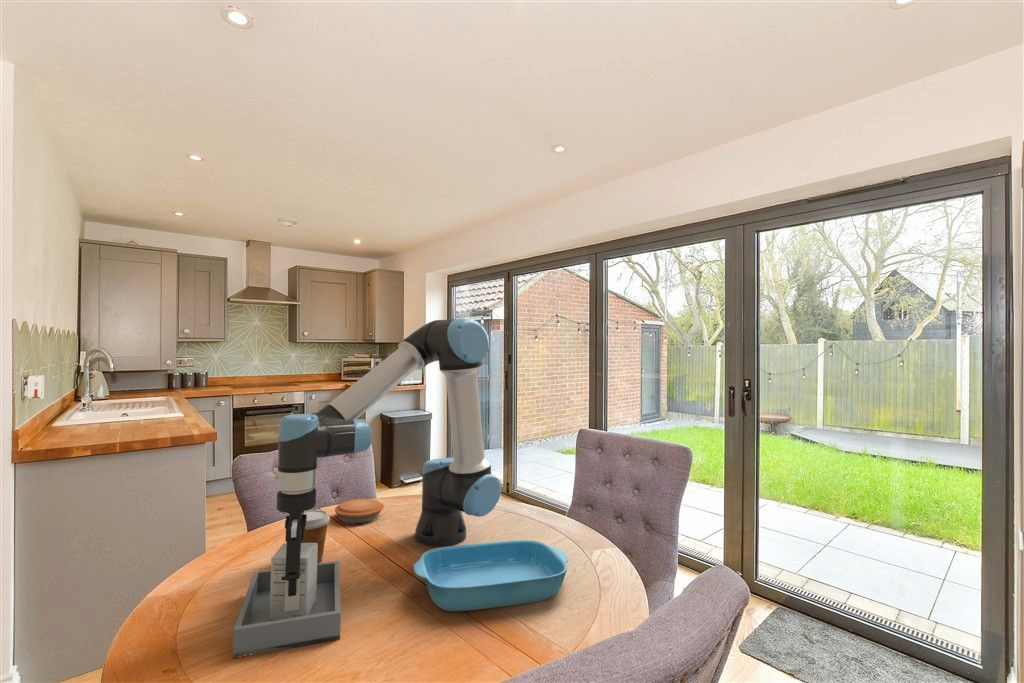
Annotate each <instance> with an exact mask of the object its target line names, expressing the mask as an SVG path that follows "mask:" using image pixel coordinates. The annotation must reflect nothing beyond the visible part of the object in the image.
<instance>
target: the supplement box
mask: <svg viewBox="0 0 1024 683" xmlns="http://www.w3.org/2000/svg"><path fill="white" fill-rule="evenodd" d="M286 548H287V542H285V543H283V544H282V545H281V546H280V547H279V548H278V550H277V551H276V552H275V553H274V554H273V556H271V558H270V562H271V563H270V569H271V580H270V614H269V619H270V620H282V619H288V618H294V617H300V616H307V615H308V614H309V613H310V611H311V609H312V607H313V605H314V603H315V601H316V589H317V555H318V543H301V555H300V608H299V610H294V611H288V612H284V608H285V580H282V577H285V571H286Z"/></svg>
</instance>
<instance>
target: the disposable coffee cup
mask: <svg viewBox="0 0 1024 683" xmlns="http://www.w3.org/2000/svg"><path fill="white" fill-rule="evenodd" d="M304 514H307V520H306V526H305V532H304V540H303V543H318V555H317V563H319V562H320V563H322V561H323V557H324V549H325V544H326V538H327V537H326V536H327V529H328V524H329V522H330V520H331V517H330V516H329V512H328V511H326V510H325V509H324V510H323V509H310V510H308V511H304Z"/></svg>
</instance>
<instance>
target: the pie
mask: <svg viewBox="0 0 1024 683" xmlns="http://www.w3.org/2000/svg"><path fill="white" fill-rule="evenodd" d="M384 508H385V504H383V503H381V502H379V501H378V500H377V499H373V498H371V499H370V498H357V499H355V498H354V499H350V500H347V501H346V500H345V501H343V502H342V503H340V504H338V505H337V506H336V507H335V508H334V512H335V514H337V516H338V517H339V519H340V521H341V520H342V521H341V522H343V523H344V522H347V523H346V524H348V523H362V524H365V523H364V522H367V523H370V522H369V521H371V522H373V521H375V520H376V519H377V518H378V517H379V514H380V513H381V512H382V511H383V510H384ZM372 520H373V521H372Z"/></svg>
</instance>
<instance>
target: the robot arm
mask: <svg viewBox="0 0 1024 683" xmlns="http://www.w3.org/2000/svg"><path fill="white" fill-rule="evenodd" d="M489 349H490V342H489V336H488V332H487V331H486V329H485V328H484V326H483V325H481V324H480V322H478V321H476V320H474V319H472V318H463V317H462V318H461V317H460V318H454V319H452V318H450V319H436V320H432V321H430V322H428V323H425V324H423V325H422V326H421V327H419V328H417V329H416V330H414V331H413V332H412V333H411V334H409V335H408V336H406V337H405V338H404V339H403V340H402V341H401V342H399V343H398V348H397V349H396V350H395V351H393V353H391V354H390V355H388V356H387V357H386V358H385V359H383V360H382V361H381V362H379V364H377V365H376V366H375V367H374V368H371V369H370V371H368V372H367V373H365V374H364V375H363V376H362V377H361V378H359V379H358V380H357V381H356V382H354V383H353V384H352V385H350V387H348V388H347V389H346V390H344V391H343V392H342V393H341V394H339V395H338V396H336V397H335V398H334V399H332V400H331V401H330V402H329V403H328V404H327V405H325V406H324V407H322V408H321V409H320V410H318V411H317V412H310V413H302V414H301V413H295V414H288V415H284V416H283V417H282V418H280V422H279V427H278V437H277V441H278V445H277V446H278V449H277V450H278V452H277V453H278V456H277V458H278V460H277V462H278V463H277V474H275V475H274V478H273V479H275V480H278V481H277V490H278V492H276V510H277V511H278V512H280V513H284V514H285V513H286V514H289V515H286V517H285V521H284V528H285V543H287V548H286V571H285V577H282V580H285V608H284V612H288V611H294V610H299V608H300V555H301V543H303V540H304V532H305V526H306V520H307V514H304V511H308V510H313V509H314V508H315V507H316V504H317V489H316V487H317V485H318V484H317V483H318V481H317V480H318V459H319V458H320V459H321V458H328V457H336V456H343V455H350V454H351V455H355V454H357V453H362V452H366V451H367V450H368V449H369V448H370V446H371V445H372V442H373V432H372V431H373V430H372V427H371V425H370V423H369V422H368V420H366V419H364V418H362V419H361V418H360V417H361V416H362V415H363V414H364V413H366V412H367V411H368V410H369V409H370V408H372V407H373V406H374V405H375V404H376V403H378V402H379V401H380V400H382V398H384V396H386V395H387V394H388V393H389V392H390V391H392V390H393V389H395V387H397V386H398V385H399V384H400V383H401V382H403V381H404V380H405V379H406V378H408V377H409V376H410V375H412V373H413V372H415V371H416V370H423V369H424V368H425V367H426V366H428V365H429V364H431V363H434V362H438V366H439V367H438V368H439V372H441V373H443V374H444V375H445V377H446V378H445V379H446V390H447V400H448V402H447V403H448V413H449V414H448V415H449V423H450V424H449V426H450V435H451V447H452V457H442V458H441V457H440V458H434V459H430V460H426V461H425V462H424V464H423V466H422V473H421V476H422V480H421V481H422V482H421V488H422V490H421V513H420V516H419V518H418V522H417V524H416V527H415V532H414V539H415V541H416V542H417V543H419V544H421V545H424V546H428V547H448V546H455V545H457V544H459V543H462V542H464V540H465V539H466V538H467V525H466V523H465V519H464V516H463V513H465V514H466V515H467V516H474V517H477V518H478V517H479V518H481V517H484V516H487V515H488V514H490V513H491V512H492V511H493V510H494V509H495V508H496V506H497V504H498V503H499V500H500V497H501V494H502V484H501V482H500V479H499V478H498V477H497V476H496V474H495V475H494V474H493V473H492V465H491V461H490V460H489V459H487V458H486V456H485V447H484V438H483V437H484V436H483V434H484V433H483V425H482V412H481V403H480V402H481V401H480V389H479V378H478V374H479V373H478V372H479V371H480V370H481V369H482V367H483V359H484V358H486V356H487V353H488V351H489Z"/></svg>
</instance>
